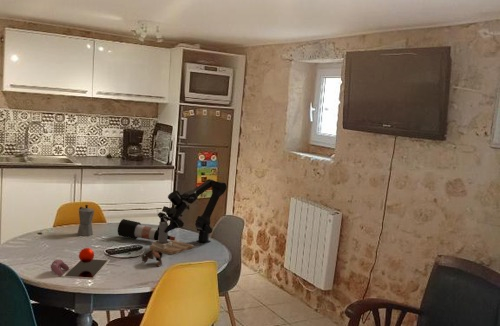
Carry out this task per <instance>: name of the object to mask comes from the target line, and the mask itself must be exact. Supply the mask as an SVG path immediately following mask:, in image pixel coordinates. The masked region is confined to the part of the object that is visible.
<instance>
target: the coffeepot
mask: <svg viewBox="0 0 500 326" xmlns="http://www.w3.org/2000/svg"><path fill="white" fill-rule="evenodd" d="M94 214H95V209H94V208H89V205H88V204H86V205H85V207H84V206H80V207H79V209H78V217H79V225H78V230H77V235H78V236H80V237H89V236H90V235H91V236H93V235H94V233H93V225H92V222H93V218H94ZM91 236H90V237H91Z"/></svg>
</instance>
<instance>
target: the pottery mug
mask: <svg viewBox="0 0 500 326" xmlns="http://www.w3.org/2000/svg"><path fill="white" fill-rule="evenodd" d="M154 257H155V260H156V264H157V267H160V266H161V265H163V262H162V258H163V252H161V251H160V250H159V251H156V250H153V249H150V250H149V251H147V252H145V254H142V256H141V258H142V260H141V261H142V262H143V263H147V262H148V259H150V260H154Z"/></svg>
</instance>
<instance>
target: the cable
mask: <svg viewBox="0 0 500 326" xmlns="http://www.w3.org/2000/svg"><path fill="white" fill-rule="evenodd" d="M117 235H118V236H120V237H124V238H129V239H132V240H137V239H138V238H141V239H145V240H151V241H157V240H159V230H158V228H153V227H150V226H146V225H142V224H141V222H139V221H134V220H130V219H125V218H122V219H121V220H120V222H119V224H118V226H117ZM170 240H175V241H176V236H173V235H172V236H171V235H169V234H168V237H167V241H170Z"/></svg>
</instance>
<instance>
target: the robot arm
mask: <svg viewBox="0 0 500 326" xmlns="http://www.w3.org/2000/svg"><path fill="white" fill-rule="evenodd" d="M210 188H211V195H210V198H209V200H208V202H207V204H206V207H205V209H204V211H203V213H202V215H198V216H196V217H197V218H196V220H195V225H194V226H195V228H196V231H197V232H198V237H197V238H198V239H196V242H197V243H202V244H207V243H210V242H212V241H211V240H209V239H210V234H212V233H213V228H212V227H211V217H212V214H213V212H214V210H215V208H216V206H217V203H218V202H219V199H220V197H222V195H224V194H225V192H226V190H227V184H226V182H223V181H220V180H213V179H212V178H211V179H210V178H209V179H206V180H205V181H204V182H203V183H201V184H200V185H198V186H197V187H195V188H194V189H192V190H191V189H190V190H188V191H185V192H183V193H182V194H180V192H179V190H174V191H172V192H171V193H169V194H168V196H167V199H168V200H169V201H170V203H171V204H172V205H173V206H174V207H172V206H170V207H168V206H165V205H163V208H162V210H161V211H160V212H158V213H157V217H158V218H159V220H160V221H159V222H167V223H168V221H169V223H168V227H167V228H166V230H165V231H164V232H165V233H167V232H168V233H169V232H171V231H172V230H175V229H178V228H183V227H184V226H185V222H184V220H182V219H181V218H180V217H183V215H182V214H183V213H184V212H185V210H188V211H189V210H190V205H191V204H194V203H195V202H196V200H197V199H198V197H200V195H203V193H205V192H207V190H209V189H210ZM157 229H158V230H159V225H158V227H157Z"/></svg>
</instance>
